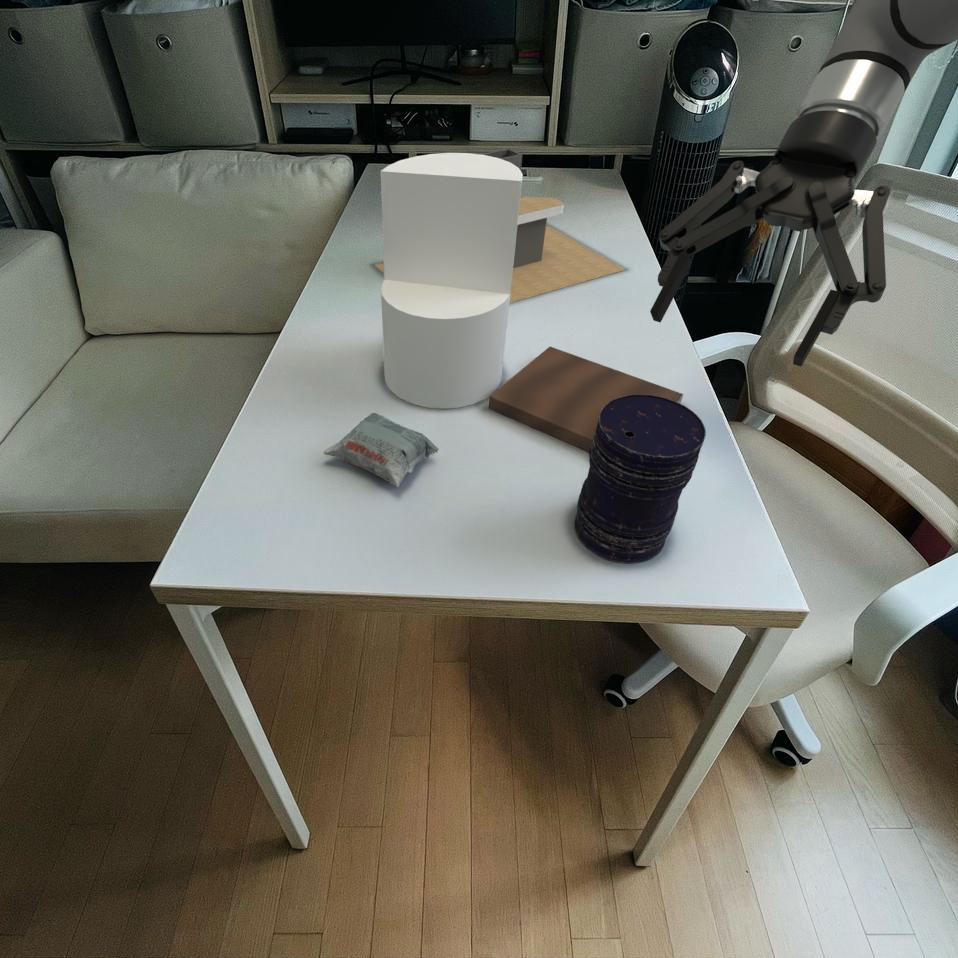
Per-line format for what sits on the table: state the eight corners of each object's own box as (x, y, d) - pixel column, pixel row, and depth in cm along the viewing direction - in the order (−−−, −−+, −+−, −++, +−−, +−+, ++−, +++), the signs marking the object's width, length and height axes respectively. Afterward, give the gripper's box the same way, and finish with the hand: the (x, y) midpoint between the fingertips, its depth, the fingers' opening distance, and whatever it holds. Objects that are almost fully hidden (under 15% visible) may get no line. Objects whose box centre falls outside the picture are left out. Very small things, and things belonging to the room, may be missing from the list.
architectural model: (542, 222, 136) (556, 116, 123) (625, 269, 119) (652, 152, 105) (374, 264, 126) (368, 154, 112) (438, 323, 108) (441, 200, 95)
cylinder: (404, 336, 106) (402, 149, 87) (512, 351, 101) (534, 157, 82) (367, 397, 94) (355, 196, 75) (487, 418, 89) (506, 208, 70)
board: (679, 406, 89) (683, 393, 88) (625, 468, 81) (629, 455, 79) (548, 357, 99) (549, 346, 98) (488, 408, 91) (489, 396, 89)
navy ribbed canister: (618, 487, 78) (649, 382, 68) (686, 540, 72) (730, 432, 62) (554, 520, 75) (575, 415, 65) (618, 578, 68) (653, 471, 58)
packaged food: (399, 501, 78) (398, 470, 75) (323, 463, 84) (320, 433, 81) (439, 462, 83) (441, 431, 80) (366, 429, 89) (364, 399, 86)
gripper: (984, 177, 59) (861, 393, 61) (703, 133, 72) (610, 313, 74) (1012, 127, 52) (873, 370, 55) (698, 89, 65) (596, 287, 68)
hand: (722, 338), depth 64 cm, fingers open, 13 cm apart
